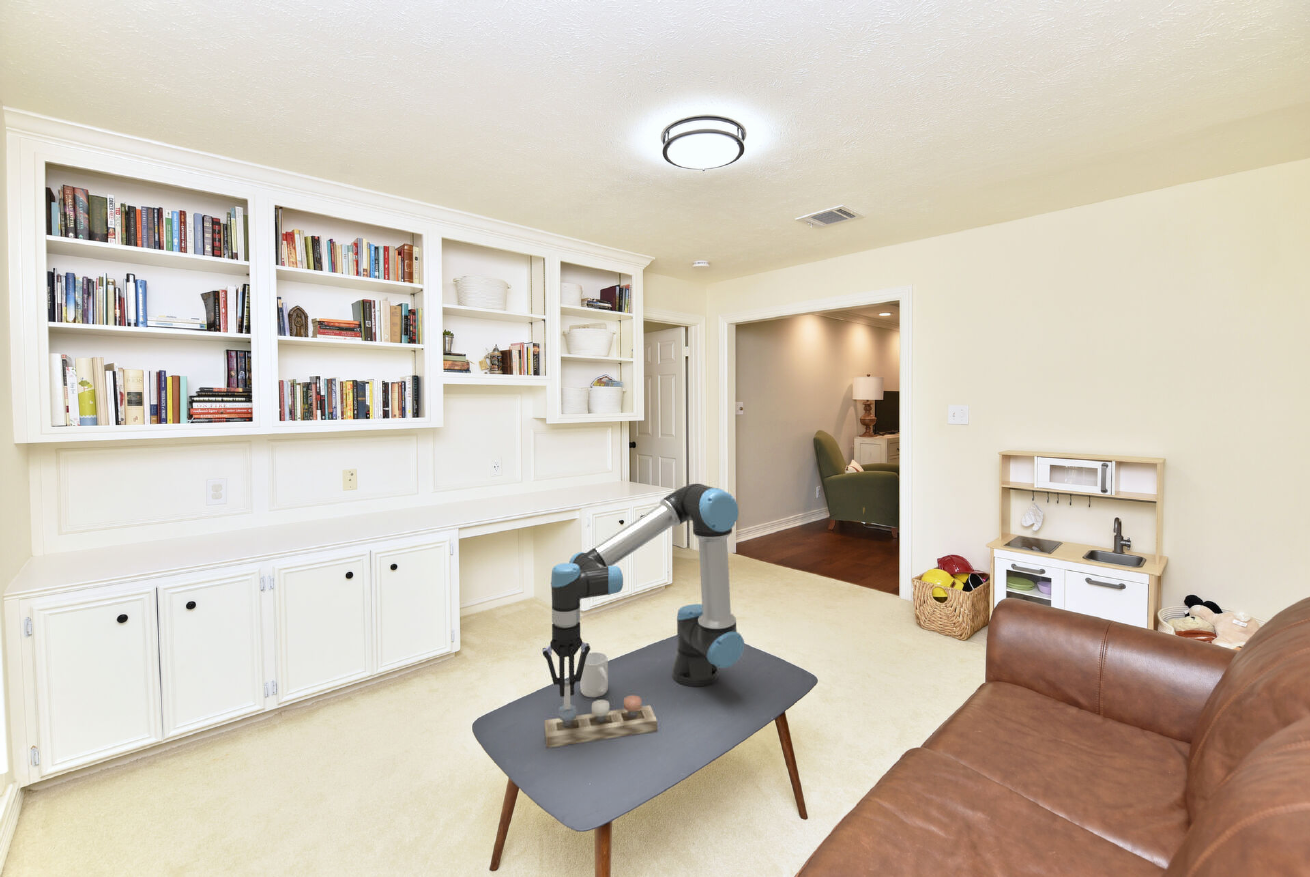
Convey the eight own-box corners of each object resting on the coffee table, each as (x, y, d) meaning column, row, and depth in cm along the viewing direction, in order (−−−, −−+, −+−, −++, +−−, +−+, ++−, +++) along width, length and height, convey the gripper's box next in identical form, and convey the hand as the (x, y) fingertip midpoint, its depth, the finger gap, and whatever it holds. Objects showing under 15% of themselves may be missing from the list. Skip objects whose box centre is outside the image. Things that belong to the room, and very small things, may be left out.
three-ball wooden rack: (650, 715, 168) (650, 705, 168) (657, 730, 160) (657, 720, 160) (544, 730, 161) (544, 720, 160) (546, 747, 153) (546, 737, 153)
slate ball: (575, 718, 161) (575, 703, 161) (577, 728, 156) (577, 712, 156) (558, 721, 160) (557, 705, 159) (559, 731, 155) (559, 715, 155)
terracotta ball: (639, 709, 165) (639, 694, 165) (642, 718, 161) (642, 703, 160) (622, 712, 164) (622, 696, 164) (625, 721, 160) (625, 705, 159)
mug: (594, 706, 173) (593, 671, 172) (575, 689, 183) (575, 656, 182) (618, 697, 178) (618, 663, 177) (599, 681, 188) (598, 649, 187)
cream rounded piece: (607, 714, 163) (607, 698, 163) (610, 723, 159) (610, 707, 158) (590, 716, 162) (590, 701, 162) (593, 726, 157) (593, 710, 157)
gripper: (588, 614, 161) (589, 696, 163) (540, 619, 158) (541, 702, 160) (592, 625, 154) (593, 710, 156) (542, 630, 150) (543, 717, 152)
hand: (567, 706), depth 158 cm, fingers closed
